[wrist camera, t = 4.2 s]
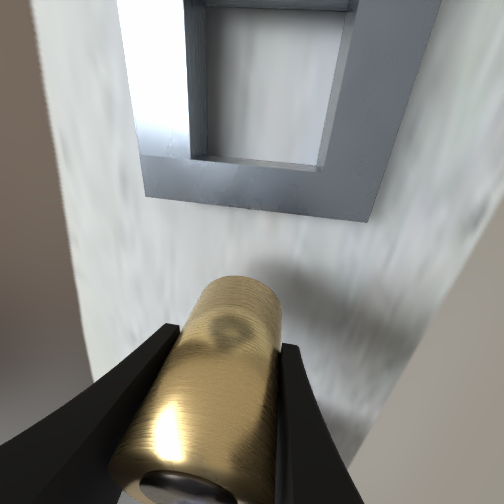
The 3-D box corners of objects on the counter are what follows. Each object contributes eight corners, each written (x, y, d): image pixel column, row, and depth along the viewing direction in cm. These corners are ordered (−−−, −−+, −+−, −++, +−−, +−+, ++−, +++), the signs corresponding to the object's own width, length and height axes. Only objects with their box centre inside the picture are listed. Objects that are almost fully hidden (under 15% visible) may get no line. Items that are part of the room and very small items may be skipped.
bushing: (276, 346, 13) (264, 545, 7) (200, 333, 13) (122, 510, 7) (287, 283, 11) (286, 484, 5) (198, 269, 11) (85, 438, 5)
